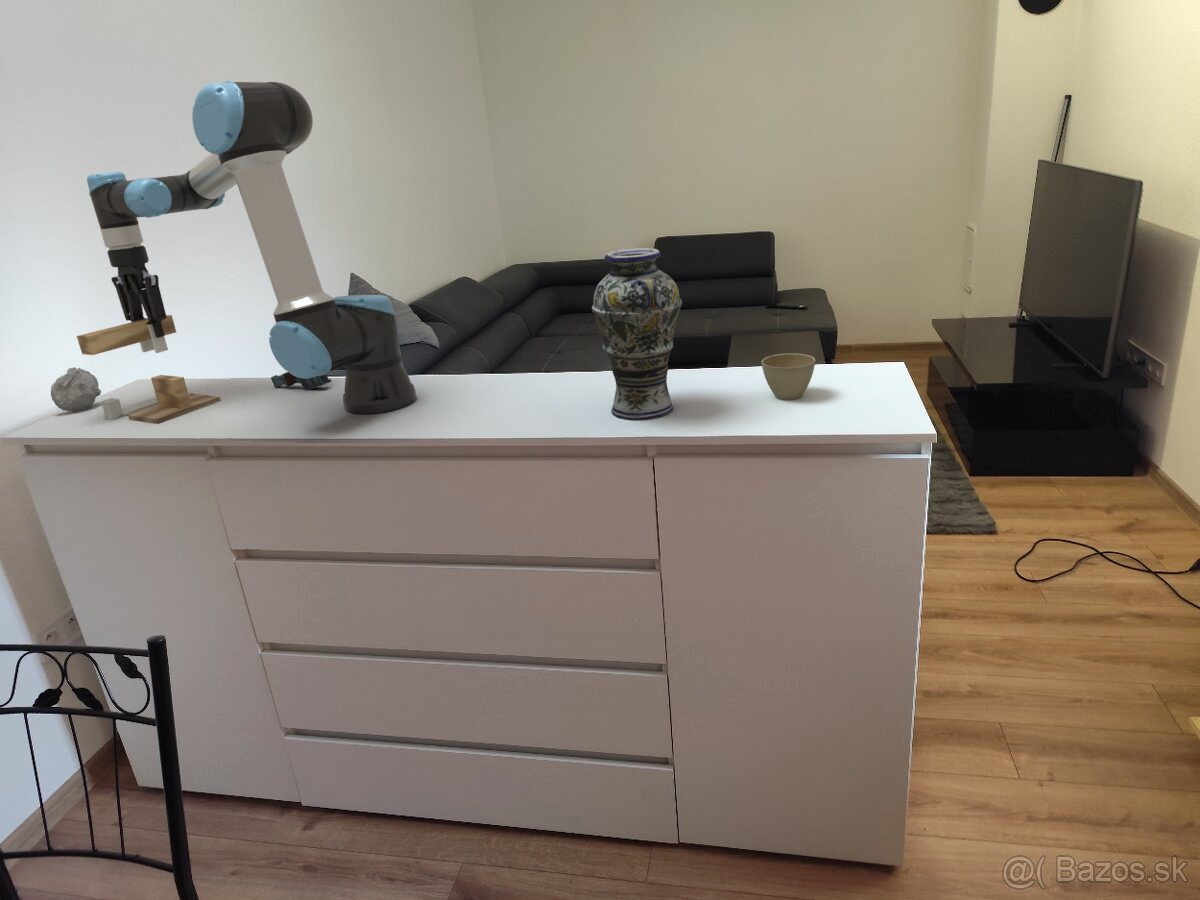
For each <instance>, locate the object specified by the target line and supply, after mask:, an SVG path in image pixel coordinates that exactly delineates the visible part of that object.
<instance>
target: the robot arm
mask: <svg viewBox="0 0 1200 900" xmlns="http://www.w3.org/2000/svg"><path fill="white" fill-rule="evenodd" d="M191 116H192V126H193V131H194V134H195V137H196V139H197V141H198V143H199V145H201V147H203V149H204V150H206V151H207V152H208V153H210V154H209V155H208V156H206V157H205V158H204V159H202V160H201V161H199V162H198V163H197V164H196V165H195V166H193V167H192V168H191V169H190V170H188V171H187V172H186V173H183V174H178V175H168V176H158V177H144V178H136V179H130V180H127V177H126V175H125V174H124V173H123V172H122V171H113V172H102V173H94V174H89V175H88V176H87V177H86V182H87V186H88V190H89V192H88V193H89V194H88V195H89V197H90V199H91V203H92V205H93V209H94V212H95V215H96V218H97V222H98V225H99V227H100V231H101V236H102V240H103V243H104V247H106V248H107V249H108V250H107V252H106V253H107V256H108V259H109V263H110V266H111V267H113V268H117V276H113V277H111V282H112V284H113V285H114V288H115V289H116V293H117V297H118V300H119V302H120V306H121V309H122V311H123V316H124V318H125V320H126V321H127V322H129V321H130V323H131V322H135V321H139V320H143V319H147V318H148V320H149V322H147V325H148V328H149V332H150V335H151V339H150V340H147V341H143V342H139V346H140V348H141V352H142V353H146V352H147V353H148V352H151V351H153V350H154V353H155V354H159V353H162V352H166V351H169V348H168V344H167V340H166V338H165V336H164V332H163V328H162V324H161V322H162V320H164V319H166V318H167V317H166V315H167V313H166V309H165V305H164V302H163V297H162V293H161V289H160V285H159V281H160V280H159V275H157V274H150V273H149V271H148V269H147V267H146V264H147V263H149V261H150V259H149V255H148V252H147V249H146V247H145V246H144V245H142V244H143V242H144V238H143V236H142V232H141V229H140V226H139V221H138V218H152V217H154V218H155V217H156V218H157V217H160V216H162V215H167V214H174V213H175V214H176V213H182V212H189V211H197V210H209V209H211V208H215V207H219V206H220V205H222V204H223V202H224V198H225V196H226V193H227V192H228V191H230V189H232V188H233V187H235V186H237V188H238V191H239V194H240V197H241V199H242V202H243V205H244V207H245V208H244V209H245V211H246V214H247V216H248V219H249V223H250V225H251V229H252V233H253V234H254V237H255V240H256V243H257V246H258V248H259V252H260V255H261V257H262V260H263V263H264V266H265V269H266V272H267V275H268V278H269V281H270V283H271V286H272V290H273V292H274V296H275V298H276V301H277V306H276V307H275V308H274V310H273V313H272V316H273V317H274V321H275V323H274V325H273V326H272V327H271V329H270V330H269V338H268V341H269V346H270V350H271V352H272V355H273V357H274V359H275V360H276V362H277V363H278V364H279V365H280V366H281V368H283V370H285V371H286V372H289V373H290V374H292V375H293V376H296V377H299V378H304V379H307V378H312V377H316V376H320V375H325V374H327V375H328V373H330V372H332V371H335V370H338V369H340V368H344V367H345V368H344V369H345V378H344V379H345V380H344V393H343V395H342V402H343V408H344V410H345V411H346V412H349V413H352V414H359V415H361V414H362V415H363V414H364V415H365V414H366V415H368V414H379V413H383V412H390V411H394V410H398V409H402V408H404V407H407V406H409V405H411V404H412V403H414V402H415V401H416V399H417V393H416V387H415V385H414V384H413V383H412V382H411V379H410V377H409V375H408V372H407V371H406V368H405V367H404V365H403V359H402V353H401V352H402V351H401V348H400V339H399V335H398V334H399V333H398V327H397V322H396V321H397V320H396V313H395V311H394V307H393V302H392V301H391V299H390V298H389V296H387V295H384V294H383V295H382V294H353V295H352V294H351V295H339V296H335V297H333V296H331V295H330V294H328V293H326V292H325V291H324V290H323V286H322V284H321V281H320V278H319V277H320V276H319V275H318V271H317V269H316V265H315V263H314V260H313V257H312V253H311V250H310V248H309V245H308V241H307V238H306V236H305V233H304V232H305V231H304V229H303V226H302V224H301V221H300V217H299V214H298V211H297V208H296V205H295V202H294V199H293V197H292V193H291V190H290V187H289V183H288V181H287V177H286V175H285V172H284V169H283V165H282V164H283V162H284V160H285V157H286V156H287V155H288V154H291V153H292V152H294V151H295V150H296V149H298V148H299V147H301V146H302V145H303V144H304V143H305V142H306V141H307V140H308V138H309V137H310V135H311V133H312V130H313V125H314V123H313V122H314V121H313V114H312V110H311V107H310V105H309V103H308V101H307V99H306V98H305V97H304V96H303V94H302V93H300V92H299V91H298V90H297V89H296V88H294V87H292V86H290V85H289V84H285V83H283V82H278V81H268V82H267V81H265V82H261V81H259V82H258V81H253V82H252V81H251V82H250V81H231V80H230V81H229V80H227V81H224V82H214V83H210V84H207V85H205V86H204V87H202V88H201V89H200V90H199V92H198V93H197V95H196V97H195V99H194V105H193V107H192V115H191ZM143 310H144V311H143ZM144 312H145V315H146V317H145V316H144Z"/></svg>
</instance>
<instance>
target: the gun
mask: <svg viewBox="0 0 1200 900" xmlns="http://www.w3.org/2000/svg"><path fill="white" fill-rule="evenodd" d="M270 379H271V382H272V384H273V386H274V388H275V389H277V388H279V387H282V386H285V387H286V388H289V387H292V386H294V385H295V384H299V385H301V386H302V387H303V389H304V390H305V391H308V390H312V389H315V388H318V387H322V386H325V385H326V384H328V383H332V379H331V378H329V376H328V373H327V374H325V375H320V376H316V377H312V378H307V379H304V378H299V377H296V376H293V375H292V374H290V373H289V372H288V371H286V372H284V373H281V375H277V374H275V375H273V376H271V377H270Z"/></svg>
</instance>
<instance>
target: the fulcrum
mask: <svg viewBox="0 0 1200 900" xmlns="http://www.w3.org/2000/svg"><path fill="white" fill-rule="evenodd" d="M150 379H151V383H152V387H153V389H154V390H153V391H154V394H155V399H157V402H158V405H155V406H152V407H150V408H147V409H144V410H141V411H138V412H135V413H132V414H129V415H127V418H128V420H131V421H136V422H137V421H138V422H145V423H152V424H161V423H164V422H166V421H169V420H172V419H176V418H178V417H180V416H183V415H186V414H189V413H191V412H195V411H197V410H200V409H203V408H205V407H208V406H211V405H214V404H216V403H218V402H222V399H221V396H217V395H209V394H202V393H189V392H188V388H187V384H186V380H185V377H184V376H175V375H165V374H159V375H156V376H152V377H150Z"/></svg>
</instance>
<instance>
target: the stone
mask: <svg viewBox="0 0 1200 900" xmlns="http://www.w3.org/2000/svg"><path fill="white" fill-rule="evenodd" d="M99 386H100V385H99V382H98V378H97V377H96V376H95V375H94V374H92V373H91V372H90V371H89V370H85V369H82V368H80V367H78V368H76V367H69V368H68V369H67V370H66V373H65V374H63V375H61V376H59V377H57V378H56V380H55V382H54V383H52V385H51V387H50V396H51V400H52V401H53V403H54V404H55V406H57V407H58V409H61V410H62V411H63V412H64V411H66V412H67V411H68V412H76V411H78V410H82V409H87V408H91V407H92V406H93V404H94V403H95V402H96V398H97V397H99V396H100V395H101V393H102V390H101V389H100V388H99Z"/></svg>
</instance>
